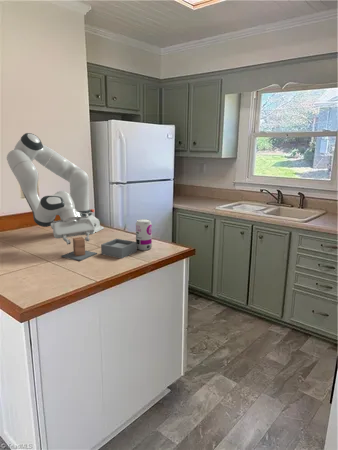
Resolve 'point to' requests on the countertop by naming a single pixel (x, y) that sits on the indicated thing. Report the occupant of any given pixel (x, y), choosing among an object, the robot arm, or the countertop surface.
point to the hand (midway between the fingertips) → (78, 242)
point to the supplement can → (143, 234)
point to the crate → (118, 248)
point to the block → (79, 246)
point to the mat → (79, 258)
